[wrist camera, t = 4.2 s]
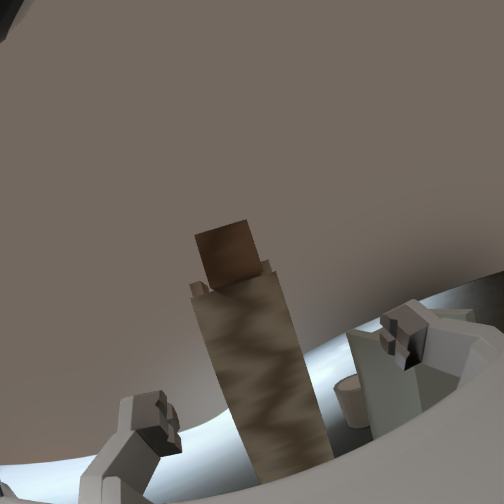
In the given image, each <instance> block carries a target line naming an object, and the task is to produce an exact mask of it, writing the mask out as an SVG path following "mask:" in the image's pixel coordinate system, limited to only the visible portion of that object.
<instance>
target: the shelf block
mask: <svg viewBox="0 0 504 504" xmlns="http://www.w3.org/2000/svg"><path fill="white" fill-rule="evenodd" d="M261 265H262V268H263V272H262V273H260V274H259V275H257V276H255V277H254V278H252V279H250V280H247V281H244V282H240V283H237V284H234V285H231V286H228V287H225V288H221V289H218V290H215V291H212V292H209V289H208V286H207V285H205V284H204V283H202V282H201V281H198V282H195V283H192V284H190V288H191V291H192V295H193V297H192V298H191V302H192V305H193V309H194V312H195V315H196V318H197V321H198V324H199V327H200V330H201V333H202V336H203V339H204V342H205V345H206V348H207V351H208V354H209V356H210V359H211V362H212V365H213V368H214V370H215V373H216V376H217V379H218V381H219V384H220V387H221V389H222V392H223V395H224V397H225V400H226V402H227V405H228V408H229V410H230V413H231V415H232V418H233V420H234V423H235V425H236V428H237V430H238V432H239V435H240V437H241V440H242V442H243V444H244V447H245V449H246V451H247V454H248V456H249V458H250V461H251V463H252V465H253V467H254V470H255V472H256V474H257V476H258V479H259V481H260V483H261V485H262V484H265V483H269V482H272V481H275V480H278V479H282V478H285V477H288V476H291V475H294V474H296V473H299V472H302V471H305V470H308V469H310V468H313V467H315V466H318V465H321V464H323V463H326V462H328V461H330V460H333V459H335V458H334V455H333V452H332V448H331V445H330V442H329V438H328V435H327V432H326V428H325V425H324V422H323V419H322V415H321V412H320V409H319V406H318V402H317V399H316V396H315V393H314V389H313V386H312V383H311V380H310V376H309V373H308V370H307V367H306V364H305V361H304V357H303V354H302V351H301V348H300V345H299V342H298V338H297V335H296V332H295V329H294V326H293V323H292V320H291V317H290V313H289V310H288V307H287V304H286V301H285V298H284V295H283V292H282V289H281V286H280V283H279V280H278V277H277V274H276V271H275V272H272V269H271V266H270V263H269V260H265V261H262V262H261Z"/></svg>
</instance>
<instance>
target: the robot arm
mask: <svg viewBox="0 0 504 504" xmlns="http://www.w3.org/2000/svg"><path fill="white" fill-rule="evenodd" d="M34 2H35V0H0V43H1V42H2V41H4V40H5V39H6V37H7V35H8V34H9V33H10V32H11V31H12V30H13V29H14V28H15V27H16V26H17V25H18V24H19V23H20V22H21V20H22V19H23V18H24V17H25V16H26V14H27V12H28V11H29V10H30V8H31V7H32V5H33V4H34ZM380 324H381V325H382V326H383V327H382V329H381V331H380V342H381V345H382V347H383V349H384V351H385V352H386V353H387V354H389V355H392V356H394V362H395V363H396V364H397V365H398V366H399V367H400V368H401V369H402V370H403V371H406V370H408V369H410V368H412V367H414V366H415V365H417V364H419V363H421V362H422V364H425V365H427V366H430V367H433V368H435V369H438V370H441V371H443V372H446V373H449V374H452V375H454V376H457V377H460V380H459V383H458V386H457V389H456V390H455V391H454V392H452V393H451V394H450V395H448V396H447V397H445V398H444V399H442V400H441V401H440V402H438V403H437V404H435V405H434V406H432V407H431V408H429V409H427V410H426V411H424V412H423V413H421V414H420V415H418V416H416V417H415V418H413V419H411V420H410V421H408V422H406V423H405V424H403V425H401V426H399V427H398V428H396V429H394V430H392V431H391V432H389V433H387V434H385V435H383V436H381V437H379V438H377V439H376V440H374V441H372V442H370V443H368V444H366V445H364V446H361V447H359V448H357V449H355V450H353V451H351V452H349V453H346V454H344V455H342V456H340V457H337V458H335V459H333V460H330V461H328V462H326V463H323V464H321V465H318V466H315V467H313V468H310V469H308V470H305V471H302V472H299V473H296V474H294V475H291V476H288V477H285V478H282V479H278V480H275V481H272V482H269V483H265V484H262V485H258V486H255V487H251V488H247V489H243V490H239V491H235V492H231V493H226V494H221V495H217V496H212V497H206V498H201V499H195V500H188V501H181V502H174V503H165V504H504V334H503V333H502V332H501V331H499V330H498V329H497V328H495V327H494V326H489V325H483V324H478V323H472V322H467V321H461V320H456V319H450V318H445V317H443V318H441V319H440V318H439V317H438V316H437V315H435V314H434V313H433V312H431V311H430V310H429V309H427V308H426V307H425V306H424V305H422V304H421V303H420V302H418V301H417V300H415V299H412V300H410V301H408V302H406V303H404V304H403V305H400V306H398V307H396V308H394V309H392V310H390V311H388V312H386V313H384V314H382V315H381V317H380ZM179 429H180V426H179V420H178V417H177V413H176V412H175V409H174V408H173V406H172V404H169V403H167V397H166V395H165V394H164V392H163V391H161V390H159V391H154V392H150V393H144V394H139V395H135V396H129V397H123V398H122V400H121V402H120V411H119V421H118V431H117V433H114V434H113V435H112V437H111V438H110V439H109V441H108V442H107V443H106V445H105V446H104V447H103V448H102V450H101V451H100V452H99V453H98V455H97V456H96V457H95V459H94V460H93V461H92V463H91V464H90V465H89V466H88V468H87V469H86V470H85V472H84V473H83V474H82V476H81V477H80V487H79V499H78V504H154V503H152V502H151V501H149V500H148V499H146V498H145V497H144V496H143V494H144V491H145V489H146V487H147V485H148V483H149V481H150V479H151V477H152V475H153V473H154V471H155V469H156V467H157V465H158V463H159V461H160V459H161V458H160V457H164V456H169V455H174V454H179V453H182V445H181V438H180V436H179V435H178V434H177V432H178V430H179ZM0 504H51V503H43V502H36V501H29V500H23V499H18V498H17V496H16V495H15V494H14V492H13V491H12V490H11V488H10V487H9V486H8V485H7V484H5V483H3V482H0Z"/></svg>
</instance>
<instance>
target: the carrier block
mask: <svg viewBox="0 0 504 504" xmlns="http://www.w3.org/2000/svg"><path fill="white" fill-rule="evenodd" d="M429 310H430V311H431V312H433V313H434V314H435V315H437V316H438V317H439V318H440V319H441V318H443V317H445V318H450V319H456V320H461V321H467V322H472V323H476V322H475V316H474V311H473V309H429ZM381 329H382V328H381ZM381 329H379V330H377V331H374V332H372V333H370V332H365V331H361V330H356V329H353V330H351V331H348V332H346V335H347V339H348V342H349V346H350V349H351V353H352V356H353V360H354V364H355V367H356V371H357V375H358V379H359V383H360V386H361V390H362V394H363V398H364V402H365V406H366V410H367V415H368V419H369V423H370V428H371V432H372V436H373V441H374V440H376V439H377V438H379V437H381V436H383V435H385V434H387V433H389V432H391V431H392V430H394V429H396V428H398V427H399V426H401V425H403V424H405V423H406V422H408V421H410V420H411V419H413V418H415V417H416V416H418V415H420V414H421V413H423V412H424V411H426V410H427V409H429V408H431V407H432V406H434V405H435V404H437V403H438V402H440V401H441V400H442V399H444V398H445V397H447V396H448V395H450V394H451V393H452V392H454V391H455V390H456V389H457V386H458V383H459V380H460V377H457V376H454V375H452V374H449V373H446V372H443V371H441V370H438V369H435V368H433V367H430V366H427V365H425V364H422V362H421V363H419V364H417V365H415V366H414V367H412V368H410V369H408V370H406V371H403V370H402V369H401V368H400V367H399V366H398V365H397V364H396V363H395V362H394V356H392V355H389V354H387V353H386V352H385V351H384V349H383V347H382V345H381V342H380V331H381Z"/></svg>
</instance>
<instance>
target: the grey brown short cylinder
mask: <svg viewBox="0 0 504 504" xmlns="http://www.w3.org/2000/svg"><path fill="white" fill-rule="evenodd" d="M333 389H334V391H335V394H336V396H337V399H338V401H339V404H340V406H341V409H342V411H343V414H344V416H345V419H346V421H347V424H348V426H349V427H351V428H358V429H359V428H365V427H368V426H370V423H369V419H368V415H367V410H366V406H365V402H364V398H363V394H362V390H361V386H360V383H359V379H358V375H357V374H354V375H351V376H348V377H346V378H344V379H342V380H340V381H339V382H338V383H337V384H335V386H334V388H333Z"/></svg>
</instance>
